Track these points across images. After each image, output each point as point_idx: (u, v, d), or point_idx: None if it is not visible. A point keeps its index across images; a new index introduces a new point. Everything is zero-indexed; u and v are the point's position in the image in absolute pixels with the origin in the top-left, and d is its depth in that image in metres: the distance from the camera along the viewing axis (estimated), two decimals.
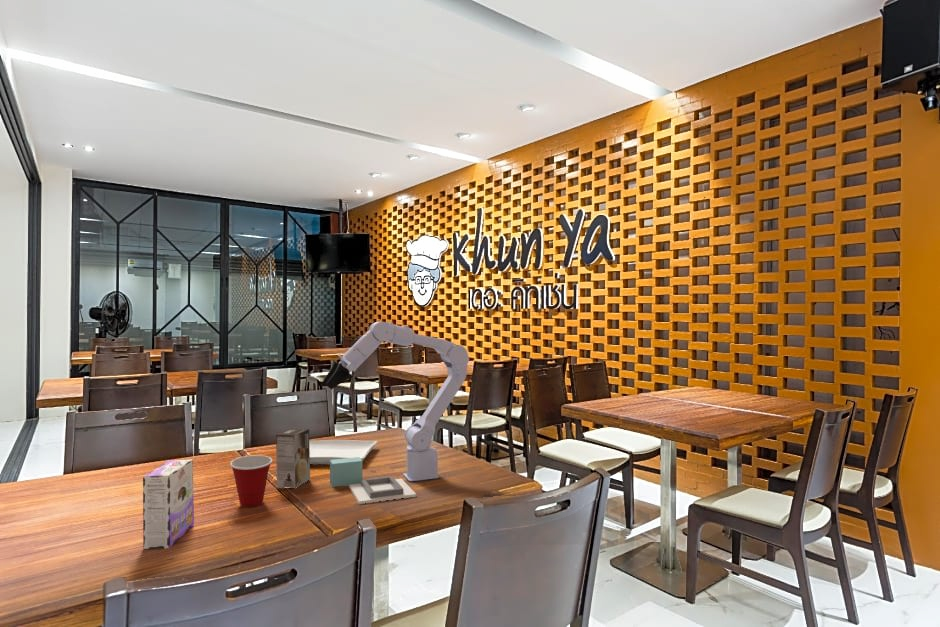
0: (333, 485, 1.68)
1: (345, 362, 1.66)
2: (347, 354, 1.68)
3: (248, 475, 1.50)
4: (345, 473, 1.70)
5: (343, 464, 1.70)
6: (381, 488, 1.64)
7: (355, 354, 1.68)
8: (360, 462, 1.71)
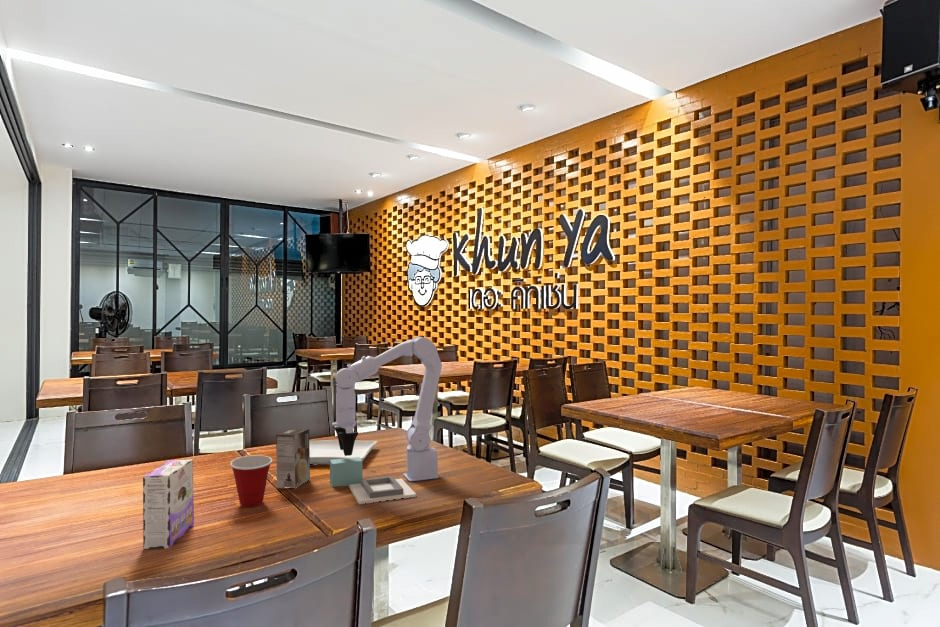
0: (333, 485, 1.68)
1: (342, 427, 1.68)
2: (338, 419, 1.70)
3: (248, 475, 1.50)
4: (345, 473, 1.70)
5: (343, 464, 1.69)
6: (381, 488, 1.64)
7: (344, 414, 1.69)
8: (360, 462, 1.71)
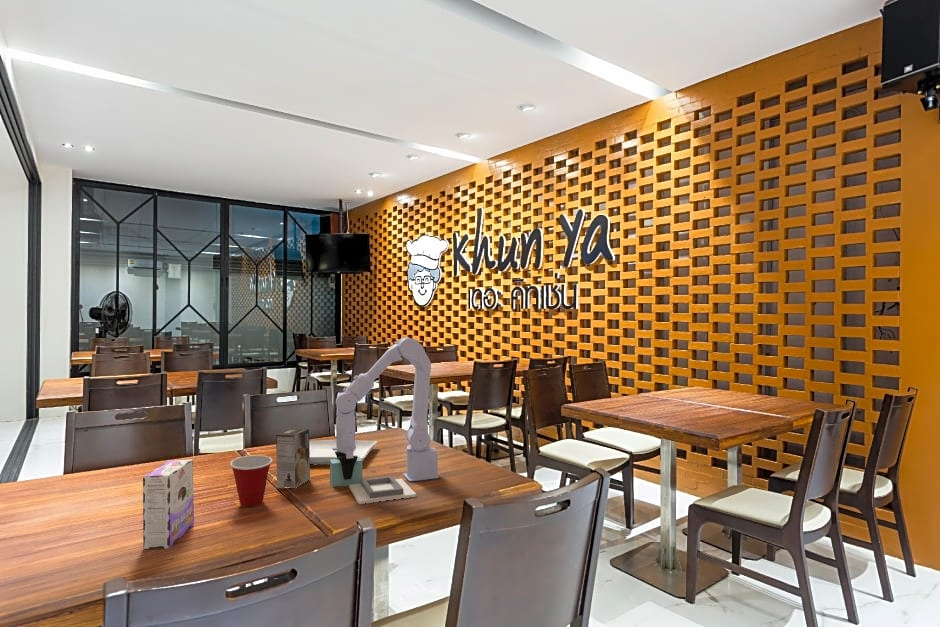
0: (333, 485, 1.68)
1: (342, 452, 1.68)
2: (338, 443, 1.70)
3: (248, 475, 1.50)
4: None
5: None
6: (381, 488, 1.64)
7: (344, 438, 1.69)
8: (360, 462, 1.71)
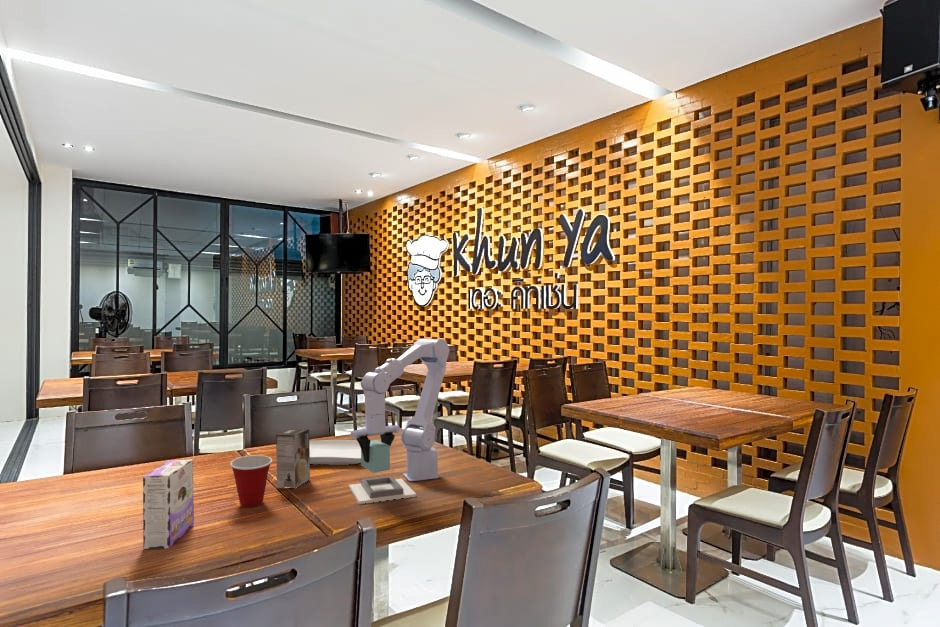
0: (361, 464, 1.67)
1: None
2: None
3: (248, 475, 1.50)
4: None
5: None
6: (381, 488, 1.64)
7: (365, 419, 1.64)
8: (372, 449, 1.60)
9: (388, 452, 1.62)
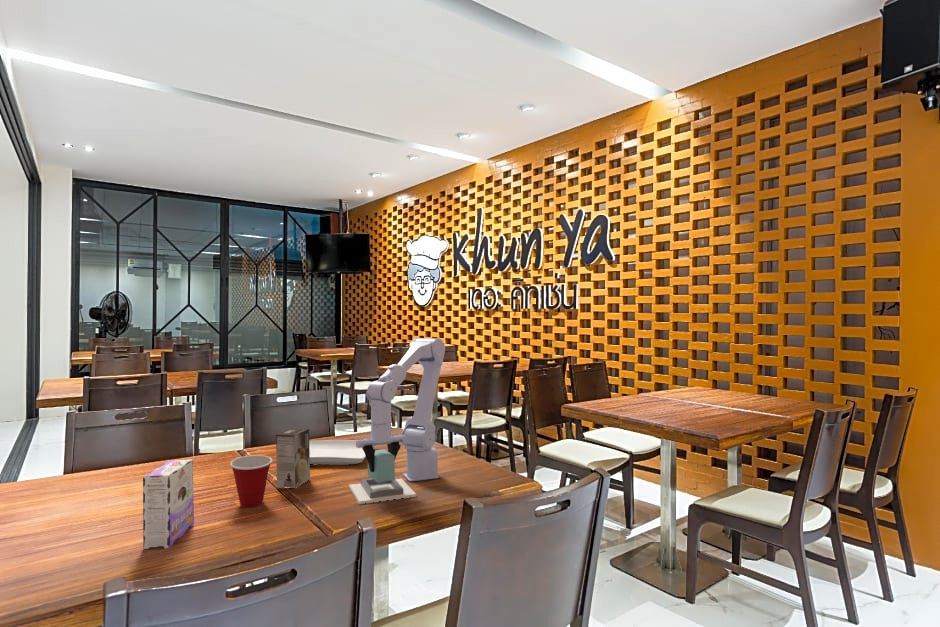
0: (368, 473, 1.66)
1: None
2: None
3: (248, 475, 1.50)
4: None
5: None
6: (381, 488, 1.64)
7: (371, 428, 1.63)
8: (377, 458, 1.59)
9: (393, 462, 1.60)
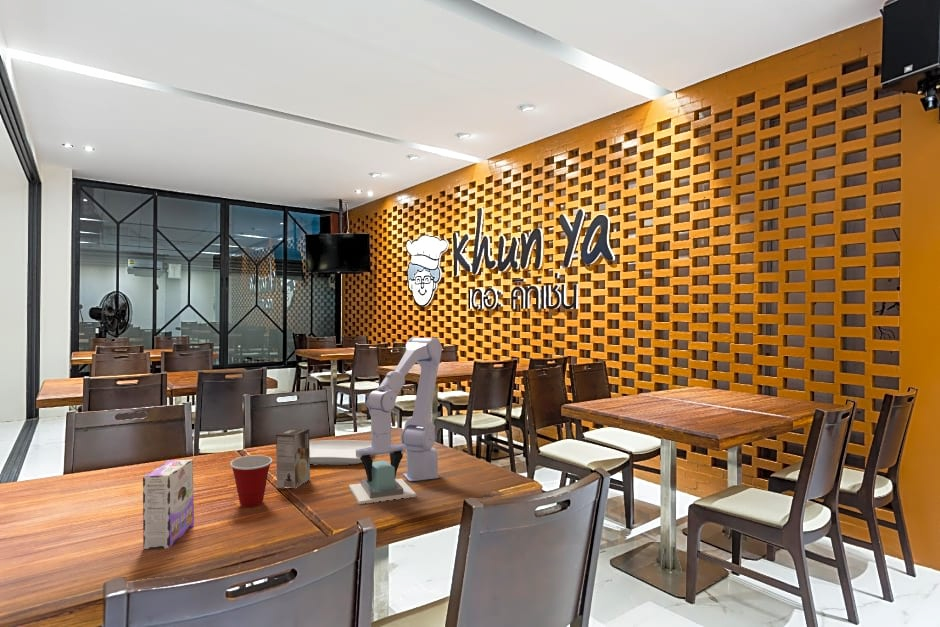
0: None
1: None
2: None
3: (248, 475, 1.50)
4: (372, 476, 1.63)
5: None
6: None
7: (371, 437, 1.63)
8: (377, 470, 1.59)
9: (393, 474, 1.60)
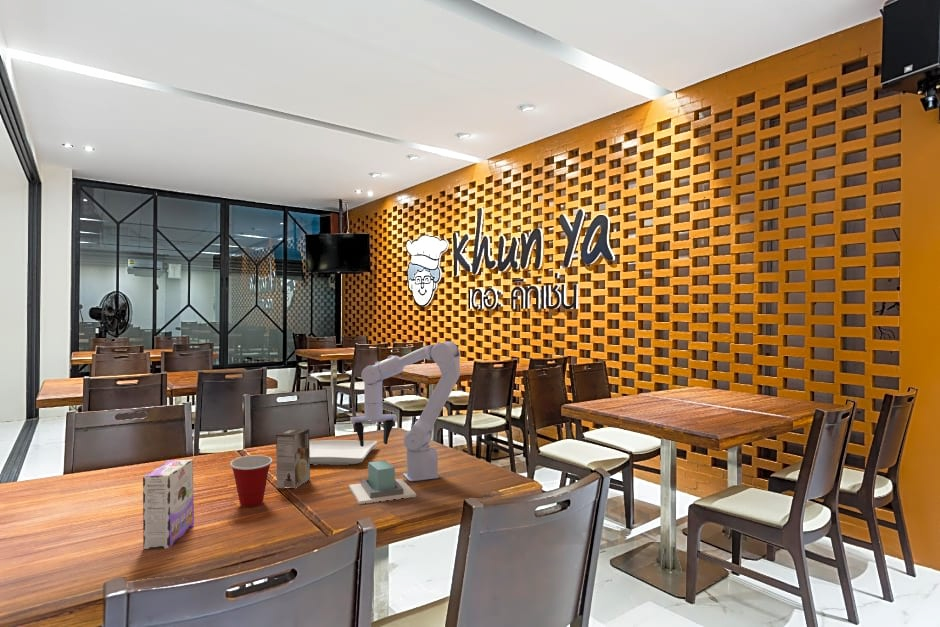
0: None
1: None
2: None
3: (248, 475, 1.50)
4: (372, 476, 1.63)
5: (371, 466, 1.63)
6: None
7: None
8: (377, 470, 1.59)
9: (393, 474, 1.60)
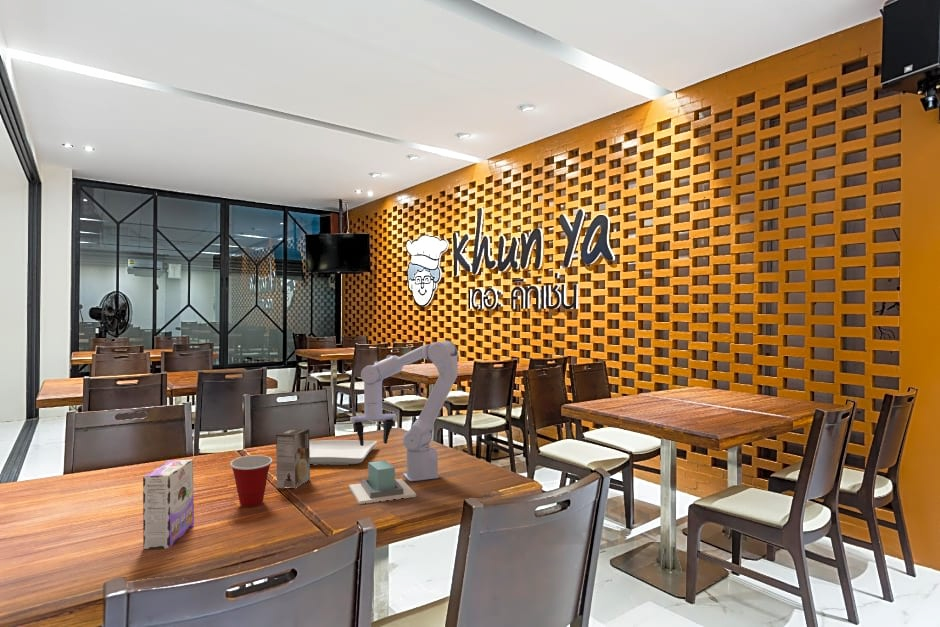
0: None
1: None
2: None
3: (248, 475, 1.50)
4: (372, 476, 1.63)
5: (371, 466, 1.63)
6: None
7: None
8: (377, 470, 1.59)
9: (393, 474, 1.60)
